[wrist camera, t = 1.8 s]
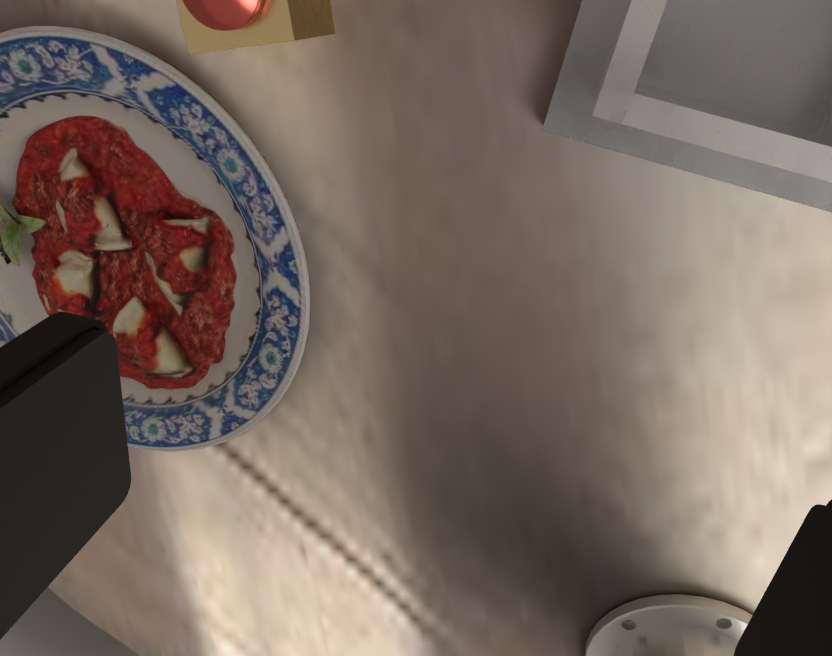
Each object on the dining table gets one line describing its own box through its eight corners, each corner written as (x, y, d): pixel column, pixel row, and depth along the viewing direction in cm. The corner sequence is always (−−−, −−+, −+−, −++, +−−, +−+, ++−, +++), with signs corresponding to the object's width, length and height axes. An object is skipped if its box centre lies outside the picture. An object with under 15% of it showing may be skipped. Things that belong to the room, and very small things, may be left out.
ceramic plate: (403, 199, 36) (387, 215, 33) (228, 495, 49) (207, 524, 46) (-23, -80, 35) (-74, -85, 32) (-88, 297, 48) (-128, 315, 45)
